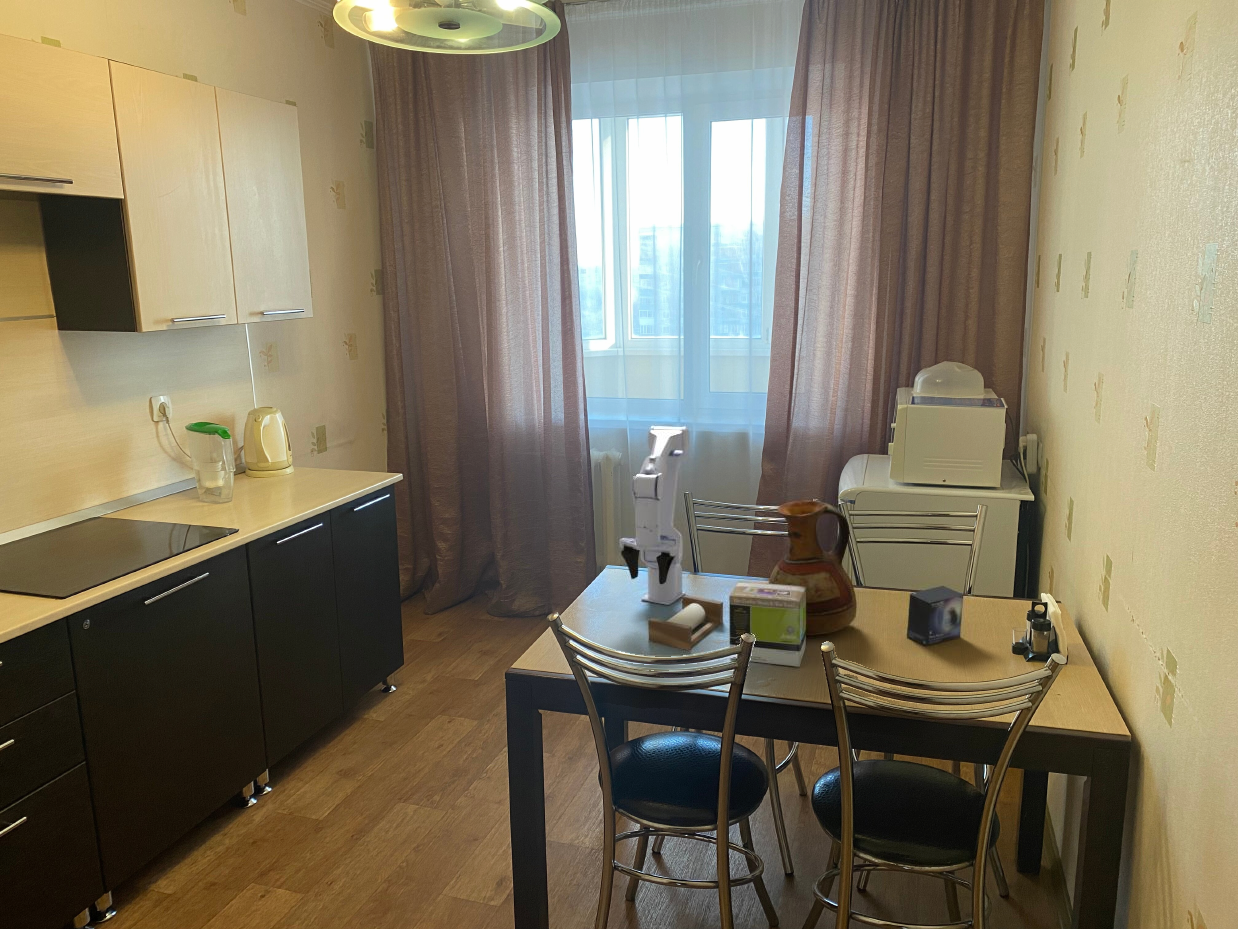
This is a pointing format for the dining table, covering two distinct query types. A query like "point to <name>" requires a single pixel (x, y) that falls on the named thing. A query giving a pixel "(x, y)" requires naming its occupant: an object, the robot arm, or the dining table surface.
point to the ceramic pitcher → (817, 567)
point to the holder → (682, 633)
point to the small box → (935, 615)
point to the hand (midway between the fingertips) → (648, 580)
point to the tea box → (769, 621)
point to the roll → (690, 616)
